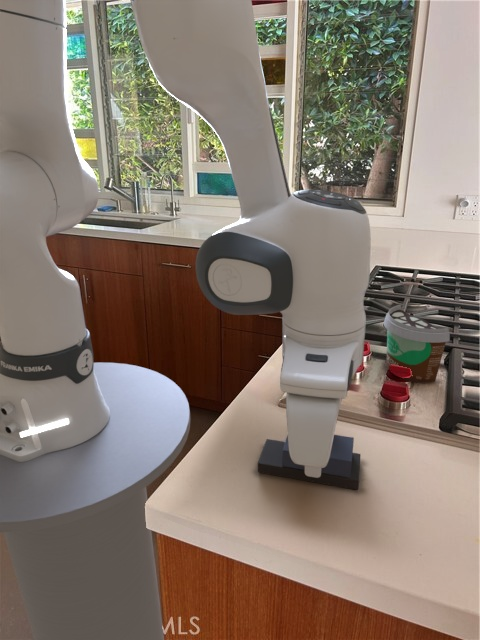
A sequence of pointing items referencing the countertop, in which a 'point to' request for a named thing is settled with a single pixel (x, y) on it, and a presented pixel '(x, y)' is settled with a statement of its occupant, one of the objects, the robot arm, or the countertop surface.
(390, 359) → the food container
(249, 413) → the countertop surface
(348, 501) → the countertop surface
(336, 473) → the stepped blue block
